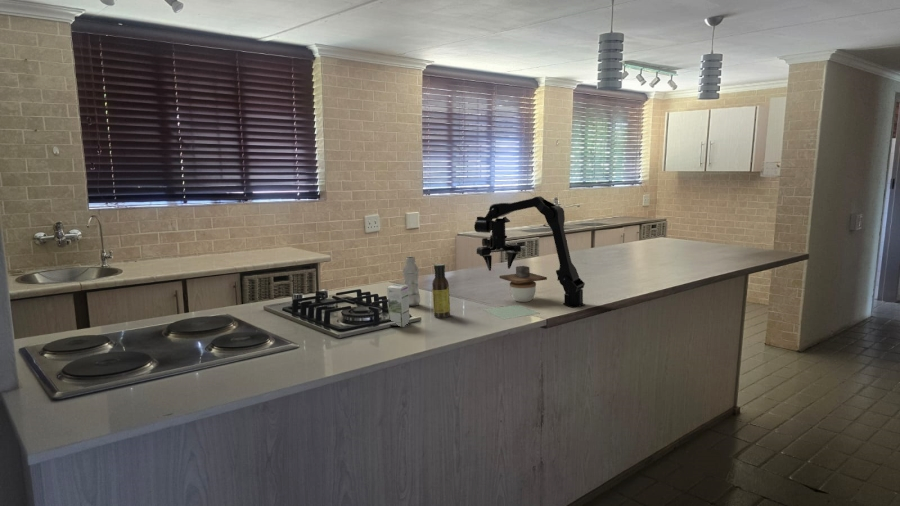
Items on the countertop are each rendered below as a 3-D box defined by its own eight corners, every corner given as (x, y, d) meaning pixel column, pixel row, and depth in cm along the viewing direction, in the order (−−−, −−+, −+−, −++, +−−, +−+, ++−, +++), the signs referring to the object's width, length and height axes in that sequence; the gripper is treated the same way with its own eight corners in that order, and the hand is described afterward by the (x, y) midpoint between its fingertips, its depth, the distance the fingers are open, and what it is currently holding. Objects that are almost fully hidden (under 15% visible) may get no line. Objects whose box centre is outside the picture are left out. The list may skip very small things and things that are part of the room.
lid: (528, 274, 246) (527, 263, 246) (546, 279, 234) (546, 267, 233) (499, 278, 241) (499, 266, 240) (517, 283, 228) (517, 271, 227)
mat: (518, 305, 231) (518, 304, 231) (540, 314, 216) (540, 313, 216) (482, 311, 224) (482, 310, 224) (503, 320, 210) (503, 319, 210)
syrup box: (410, 323, 209) (408, 284, 207) (402, 327, 204) (400, 287, 202) (396, 322, 212) (394, 283, 210) (388, 326, 207) (386, 286, 204)
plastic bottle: (418, 307, 234) (416, 258, 231) (402, 307, 235) (400, 258, 232) (422, 303, 240) (420, 256, 237) (406, 303, 241) (404, 256, 239)
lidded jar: (535, 298, 243) (535, 276, 242) (536, 304, 233) (536, 281, 231) (510, 298, 244) (509, 276, 243) (510, 304, 234) (509, 281, 232)
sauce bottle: (453, 316, 217) (451, 264, 214) (439, 319, 214) (437, 266, 211) (444, 313, 222) (442, 262, 220) (430, 316, 219) (428, 264, 216)
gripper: (508, 230, 254) (509, 264, 256) (470, 233, 246) (471, 269, 249) (521, 232, 244) (522, 268, 246) (482, 235, 236) (483, 272, 239)
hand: (499, 269), depth 245 cm, fingers open, 9 cm apart
